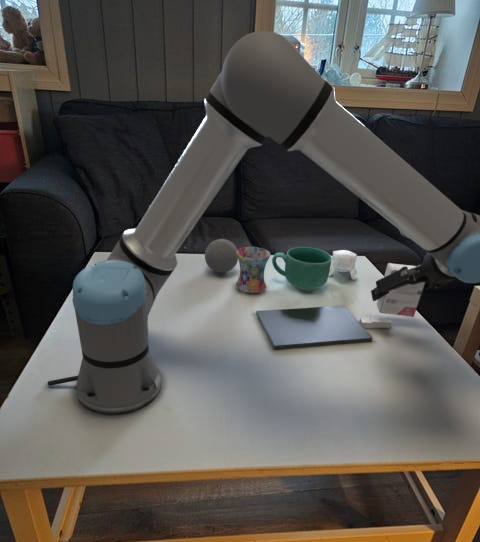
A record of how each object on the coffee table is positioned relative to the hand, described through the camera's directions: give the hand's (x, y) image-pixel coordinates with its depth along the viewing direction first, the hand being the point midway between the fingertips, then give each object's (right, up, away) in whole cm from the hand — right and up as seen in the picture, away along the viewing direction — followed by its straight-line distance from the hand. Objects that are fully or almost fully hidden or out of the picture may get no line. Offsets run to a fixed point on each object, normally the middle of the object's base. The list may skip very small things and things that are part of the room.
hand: (391, 294), depth 109 cm
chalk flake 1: (-7, -8, -2) cm, 11 cm away
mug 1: (-35, +3, +14) cm, 38 cm away
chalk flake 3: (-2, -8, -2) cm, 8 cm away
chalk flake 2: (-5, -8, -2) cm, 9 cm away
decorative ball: (-44, +8, +21) cm, 50 cm away
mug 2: (-21, +4, +17) cm, 28 cm away
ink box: (0, -4, -1) cm, 5 cm away
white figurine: (-7, +8, +25) cm, 27 cm away
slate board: (-21, -8, -4) cm, 23 cm away
